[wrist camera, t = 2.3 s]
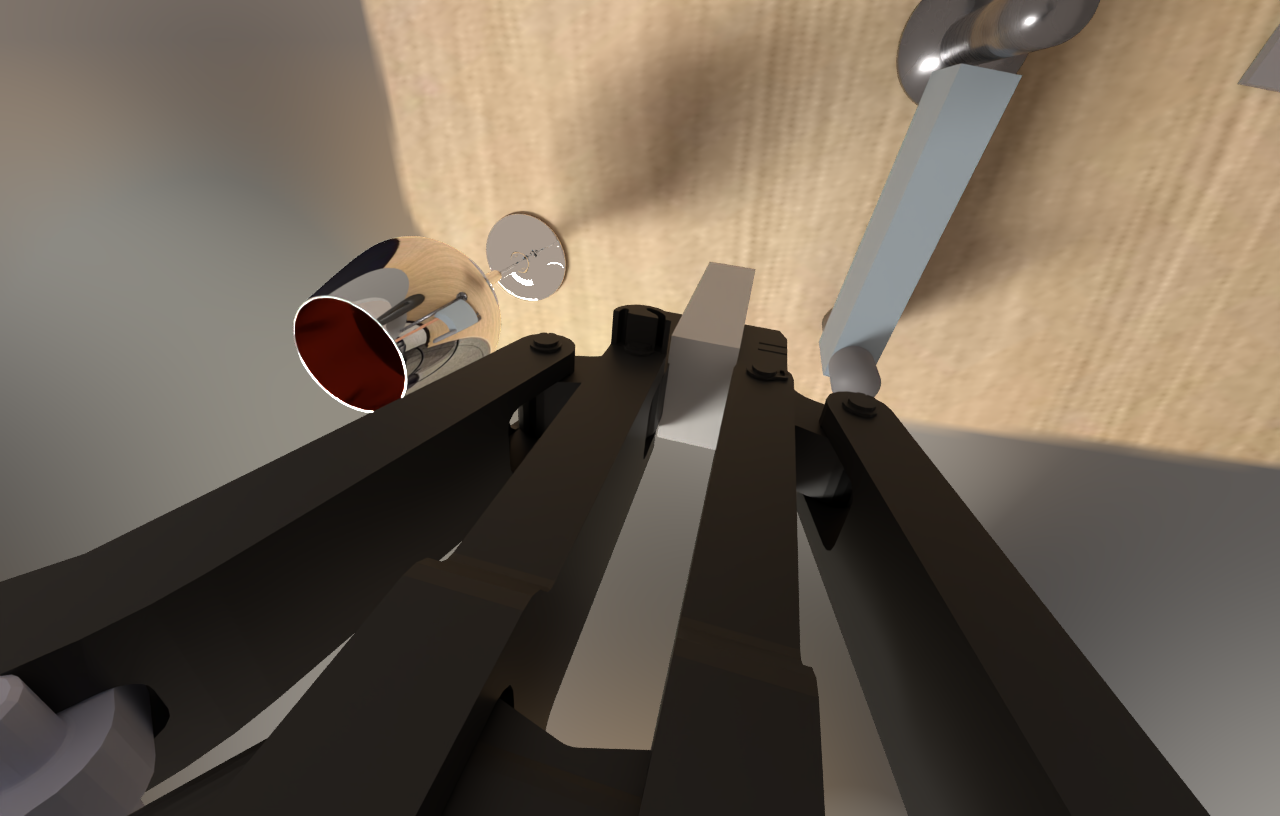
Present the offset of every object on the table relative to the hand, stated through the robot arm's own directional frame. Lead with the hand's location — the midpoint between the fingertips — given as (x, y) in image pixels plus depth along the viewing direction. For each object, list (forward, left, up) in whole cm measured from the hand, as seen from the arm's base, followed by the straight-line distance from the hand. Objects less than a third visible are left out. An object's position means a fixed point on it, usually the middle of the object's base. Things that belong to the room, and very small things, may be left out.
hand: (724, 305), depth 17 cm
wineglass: (+7, -15, -18) cm, 25 cm away
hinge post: (-10, +8, -18) cm, 22 cm away
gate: (-1, +8, -18) cm, 19 cm away
